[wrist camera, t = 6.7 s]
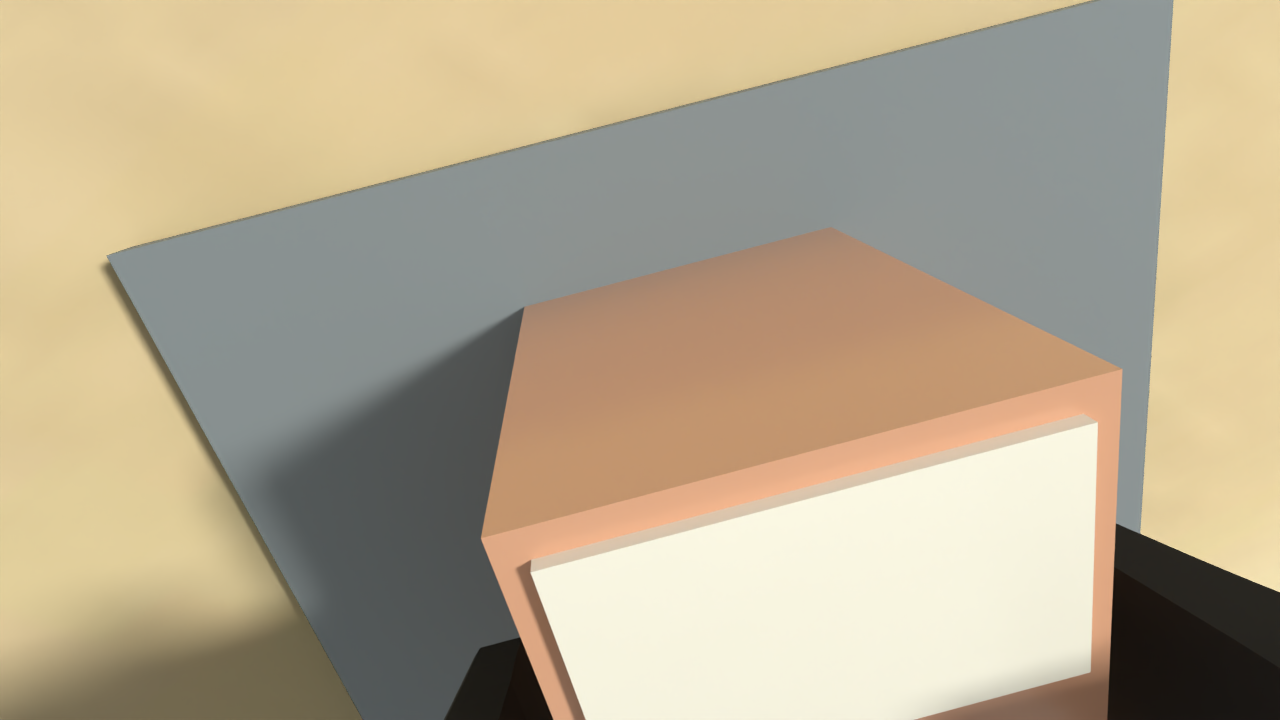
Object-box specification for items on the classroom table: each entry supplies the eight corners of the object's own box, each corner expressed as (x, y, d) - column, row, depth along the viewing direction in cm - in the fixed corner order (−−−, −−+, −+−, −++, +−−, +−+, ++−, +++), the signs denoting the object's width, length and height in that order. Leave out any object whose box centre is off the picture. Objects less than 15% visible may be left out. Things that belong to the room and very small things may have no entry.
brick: (884, 646, 14) (1104, 1021, 8) (652, 708, 14) (713, 1128, 8) (830, 226, 11) (1137, 376, 5) (524, 306, 11) (479, 551, 5)
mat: (1141, -13, 10) (1174, -19, 10) (1111, 652, 16) (1131, 673, 15) (131, 246, 10) (106, 256, 10) (444, 831, 16) (439, 858, 15)
